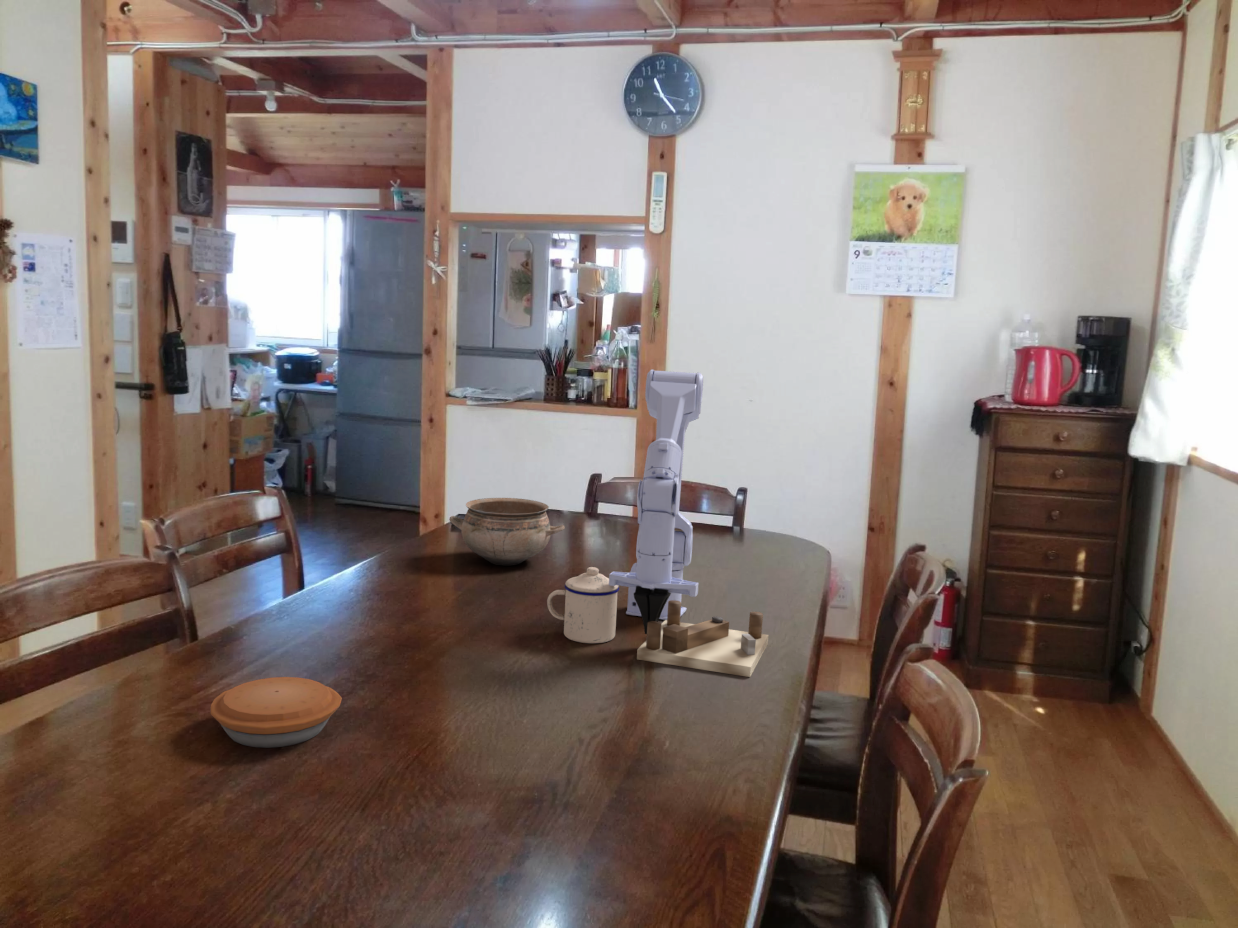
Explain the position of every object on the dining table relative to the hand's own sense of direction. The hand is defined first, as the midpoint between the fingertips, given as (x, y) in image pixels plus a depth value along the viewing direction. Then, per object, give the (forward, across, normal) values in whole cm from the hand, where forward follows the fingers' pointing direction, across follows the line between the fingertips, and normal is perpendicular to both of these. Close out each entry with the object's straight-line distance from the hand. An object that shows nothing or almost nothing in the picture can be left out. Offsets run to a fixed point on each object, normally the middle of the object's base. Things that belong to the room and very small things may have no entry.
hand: (650, 632), depth 164 cm
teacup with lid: (+3, -12, +1) cm, 13 cm away
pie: (+3, -34, -51) cm, 61 cm away
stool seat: (+2, +9, +2) cm, 9 cm away
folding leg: (+1, +7, +1) cm, 8 cm away
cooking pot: (+3, -43, +40) cm, 59 cm away
